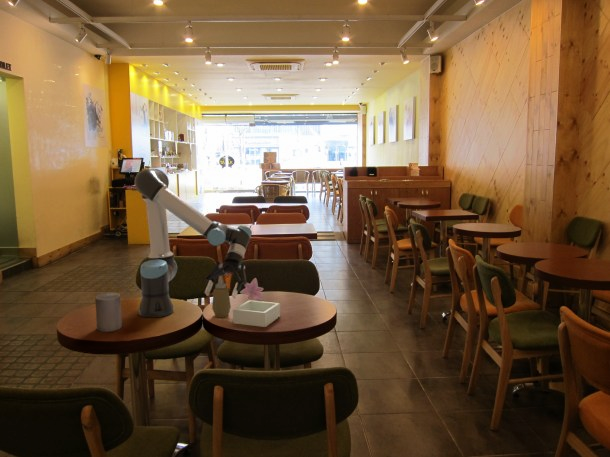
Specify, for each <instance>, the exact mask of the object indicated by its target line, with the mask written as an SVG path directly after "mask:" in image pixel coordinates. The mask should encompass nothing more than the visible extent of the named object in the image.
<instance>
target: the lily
mask: <svg viewBox="0 0 610 457" xmlns="http://www.w3.org/2000/svg"><path fill="white" fill-rule="evenodd" d="M258 284H259V283H258V280H257V278H256V277H254V278H253V279H252V280H251V282H250V283H249V282H247V284H246V285H245V284H243V285H244V287H245V288H243V289H242V290H240V291H239V293H240V294H242V295H246V296H248V301H249V300H253V301H254V299H257V300H258V301H263V300H264V298H263V296H262V294H261V292H262V291H263V290H265V289H264V287H261V286H259V285H258Z"/></svg>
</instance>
